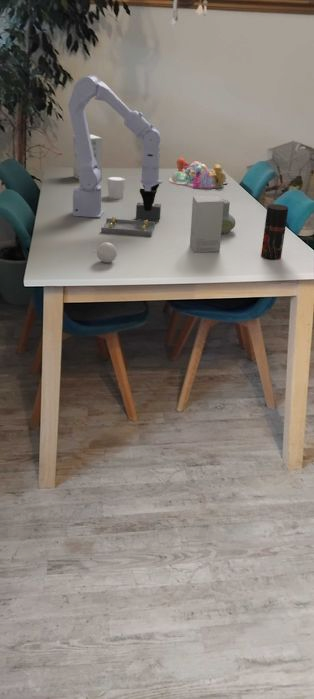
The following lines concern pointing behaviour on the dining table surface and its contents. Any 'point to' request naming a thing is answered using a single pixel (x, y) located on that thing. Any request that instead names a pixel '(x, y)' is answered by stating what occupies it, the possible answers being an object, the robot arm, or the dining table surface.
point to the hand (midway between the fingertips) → (148, 207)
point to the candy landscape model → (198, 175)
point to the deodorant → (274, 231)
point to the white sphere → (106, 252)
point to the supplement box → (96, 150)
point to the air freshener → (227, 218)
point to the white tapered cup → (116, 187)
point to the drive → (148, 212)
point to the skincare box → (206, 223)
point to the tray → (128, 227)
